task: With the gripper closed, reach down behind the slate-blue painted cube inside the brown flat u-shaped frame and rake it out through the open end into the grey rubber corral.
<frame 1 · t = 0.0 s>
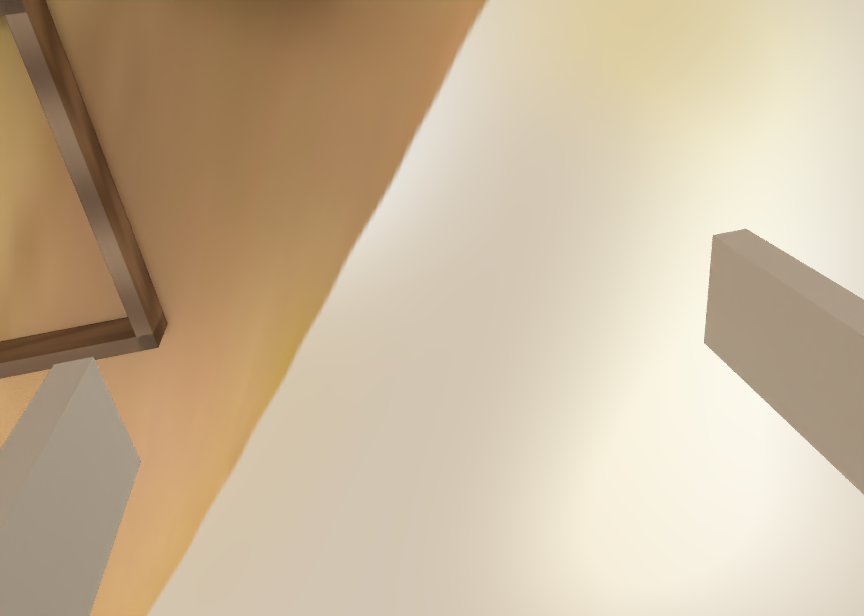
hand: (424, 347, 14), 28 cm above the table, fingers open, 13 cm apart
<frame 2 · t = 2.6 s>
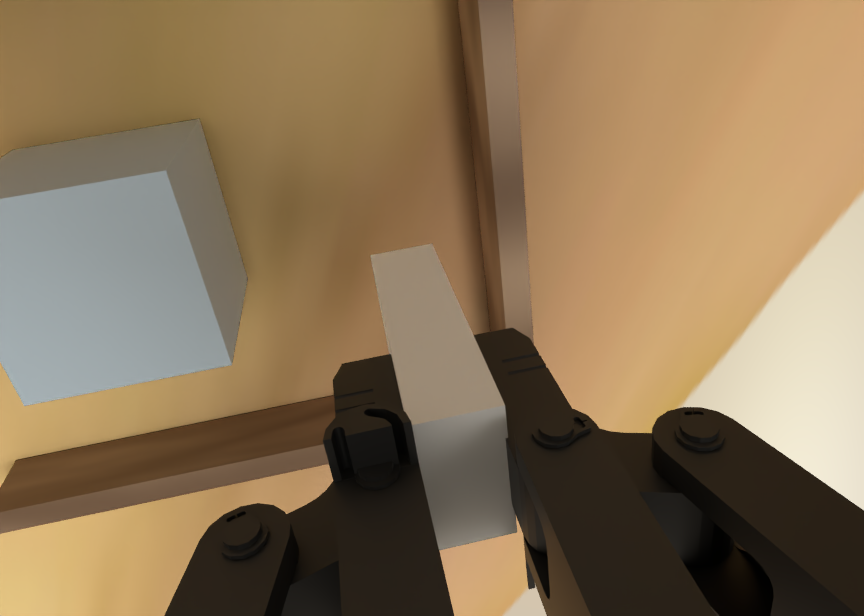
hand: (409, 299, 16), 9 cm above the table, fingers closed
brown flat u-shaped frame: (210, 206, 23), on the table
cube: (139, 218, 23), on the table
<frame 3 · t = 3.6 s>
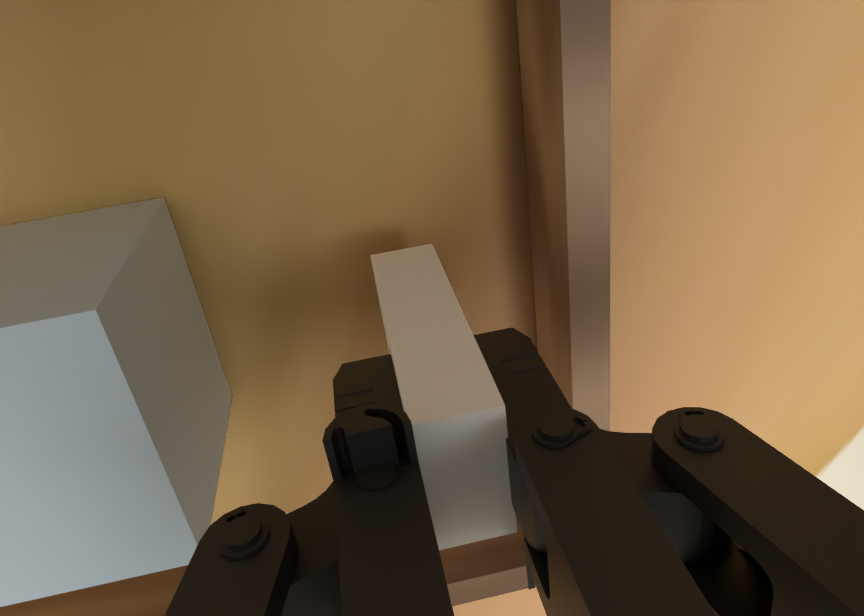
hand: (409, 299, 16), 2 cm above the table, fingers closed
brown flat u-shaped frame: (181, 309, 17), on the table
cube: (85, 325, 17), on the table
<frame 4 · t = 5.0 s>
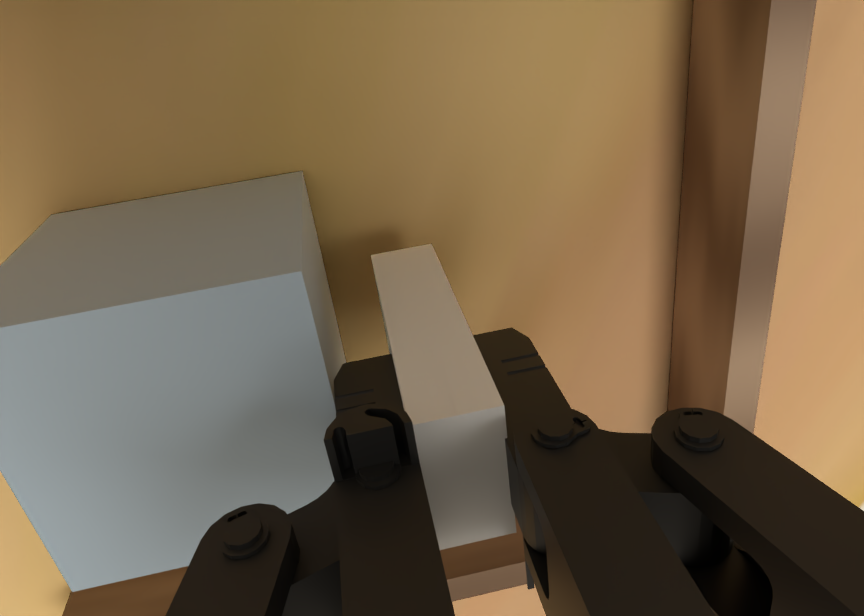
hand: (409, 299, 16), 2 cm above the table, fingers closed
brown flat u-shaped frame: (346, 273, 18), on the table
cube: (214, 300, 17), on the table, touching gripper
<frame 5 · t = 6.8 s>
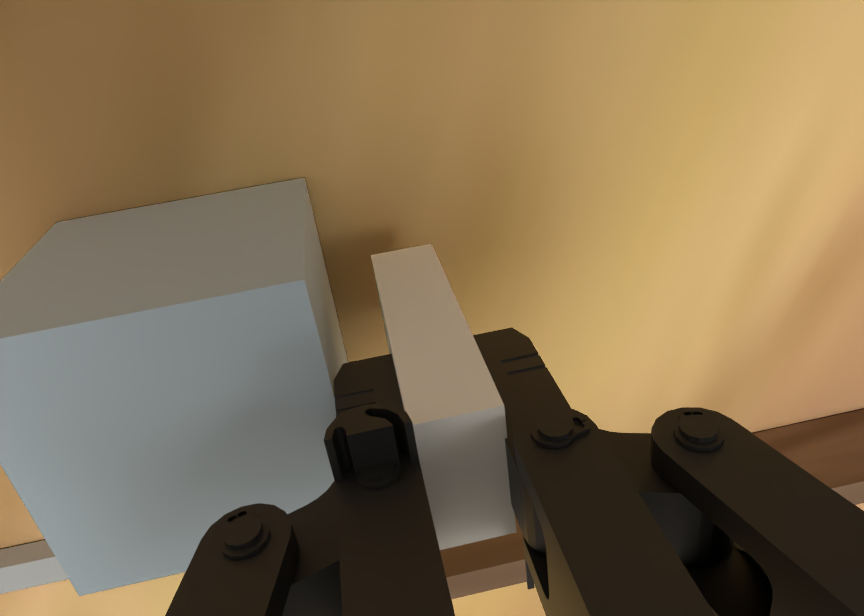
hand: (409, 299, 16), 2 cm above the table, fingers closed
brown flat u-shaped frame: (706, 204, 19), on the table
cube: (218, 306, 17), on the table, touching gripper
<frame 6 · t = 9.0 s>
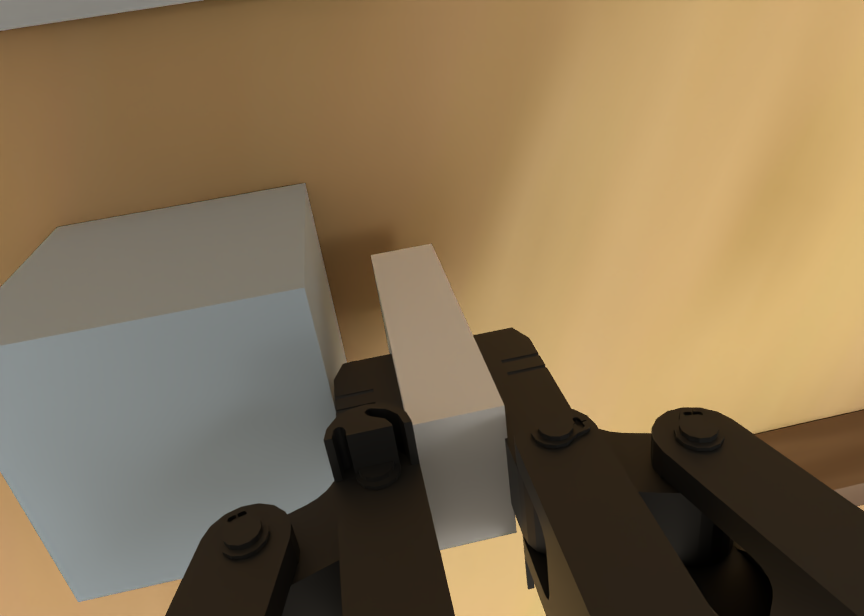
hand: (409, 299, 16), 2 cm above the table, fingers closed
corral: (206, 301, 17), on the table
cube: (218, 310, 17), on the table, touching gripper
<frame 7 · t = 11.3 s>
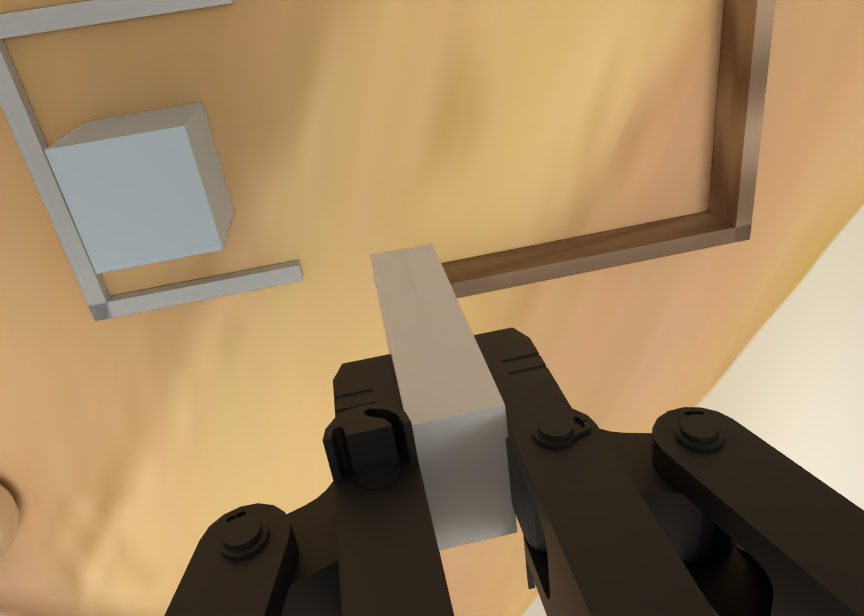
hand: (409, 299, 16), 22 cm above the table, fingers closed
corral: (157, 162, 35), on the table
brown flat u-shaped frame: (561, 92, 37), on the table
cube: (163, 167, 35), on the table
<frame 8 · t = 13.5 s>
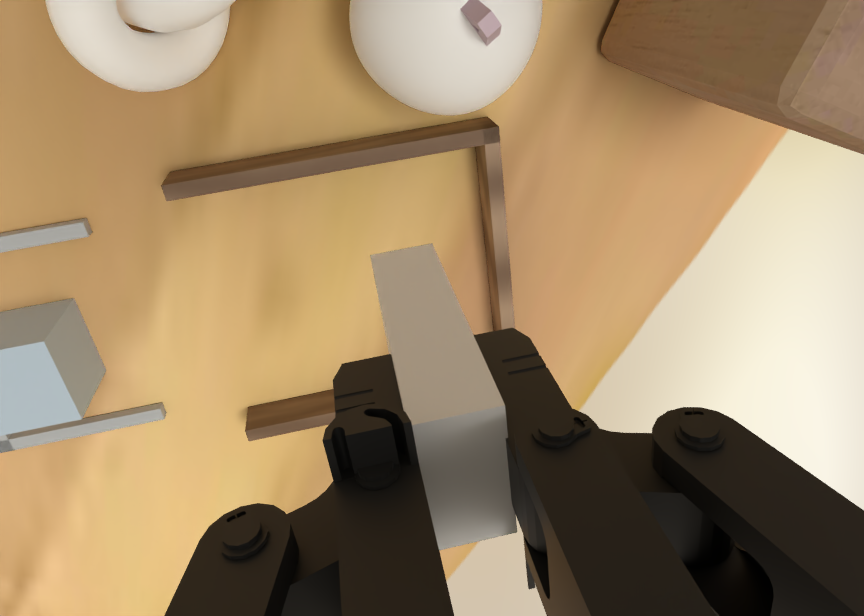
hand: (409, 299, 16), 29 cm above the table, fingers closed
corral: (42, 340, 46), on the table
ornament: (429, 10, 41), on the table
brown flat u-shaped frame: (359, 279, 48), on the table
cube: (47, 343, 46), on the table
wooden block: (686, 3, 43), on the table
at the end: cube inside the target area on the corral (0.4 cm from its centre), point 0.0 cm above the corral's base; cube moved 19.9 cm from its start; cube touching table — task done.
